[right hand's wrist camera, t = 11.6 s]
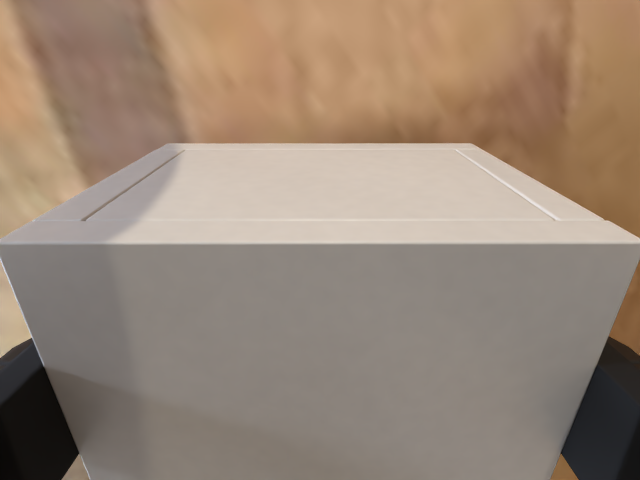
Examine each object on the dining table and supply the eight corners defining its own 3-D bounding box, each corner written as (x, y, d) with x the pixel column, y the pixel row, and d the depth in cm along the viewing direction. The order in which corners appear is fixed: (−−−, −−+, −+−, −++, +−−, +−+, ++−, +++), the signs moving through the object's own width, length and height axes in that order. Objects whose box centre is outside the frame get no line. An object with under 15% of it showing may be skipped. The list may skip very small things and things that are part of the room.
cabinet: (421, 446, 21) (477, 659, 14) (218, 446, 21) (163, 660, 14) (472, 142, 14) (648, 241, 7) (167, 143, 14) (-10, 242, 7)
